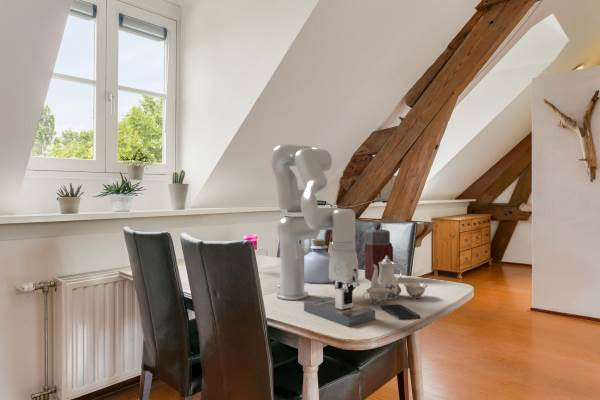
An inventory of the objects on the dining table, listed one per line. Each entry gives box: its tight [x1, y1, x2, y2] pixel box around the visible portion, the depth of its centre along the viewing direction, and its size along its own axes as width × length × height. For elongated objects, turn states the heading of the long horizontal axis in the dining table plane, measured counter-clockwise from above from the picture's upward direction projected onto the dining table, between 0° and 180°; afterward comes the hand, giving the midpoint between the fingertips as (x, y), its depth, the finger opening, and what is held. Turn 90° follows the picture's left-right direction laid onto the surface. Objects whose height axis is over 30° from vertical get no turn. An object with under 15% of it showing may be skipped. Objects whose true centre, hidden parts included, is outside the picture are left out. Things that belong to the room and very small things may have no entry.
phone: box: [380, 303, 421, 321], centre depth 140 cm, size 8×1×15 cm
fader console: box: [303, 296, 376, 328], centre depth 138 cm, size 22×12×3 cm, turn 37°
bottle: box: [304, 238, 333, 285], centre depth 196 cm, size 20×20×19 cm
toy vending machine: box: [364, 219, 394, 282], centre depth 195 cm, size 9×11×28 cm
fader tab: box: [334, 286, 354, 309], centre depth 136 cm, size 3×5×6 cm, turn 127°
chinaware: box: [362, 256, 428, 306], centre depth 159 cm, size 28×17×17 cm, turn 121°
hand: (344, 301), depth 136 cm, fingers closed on fader tab, 3 cm apart
